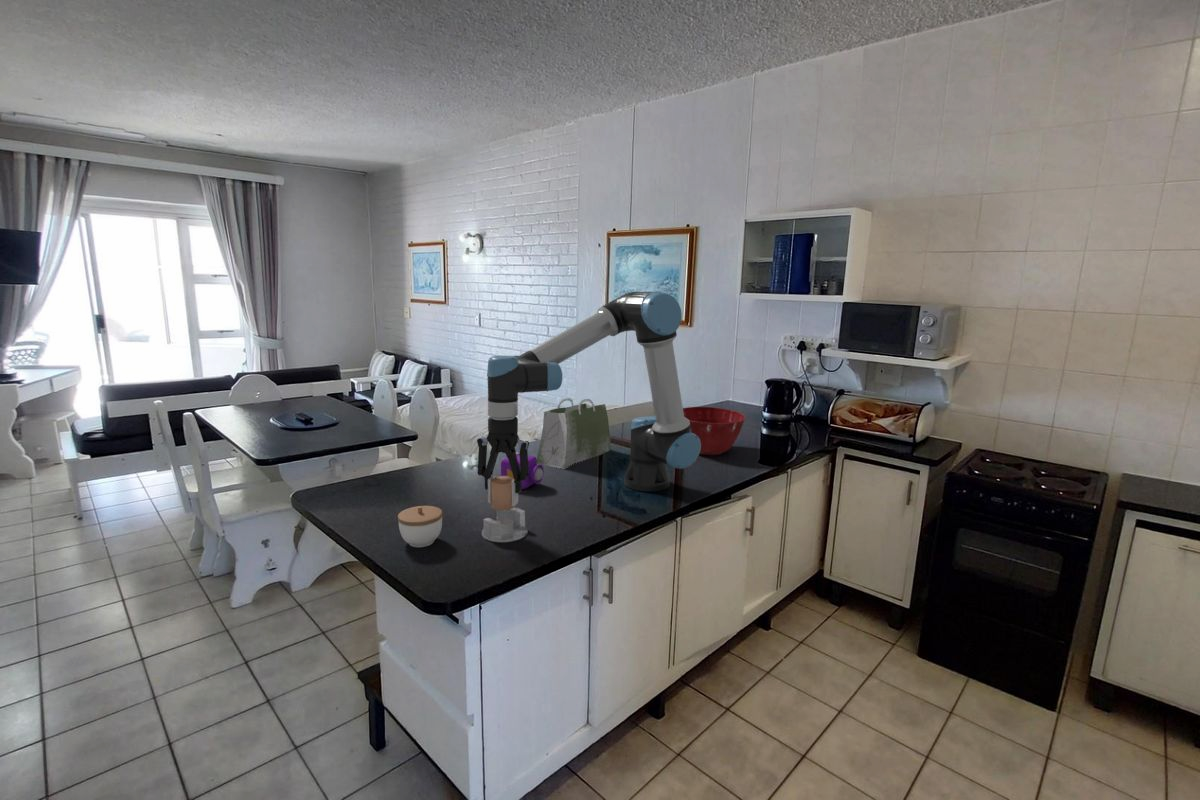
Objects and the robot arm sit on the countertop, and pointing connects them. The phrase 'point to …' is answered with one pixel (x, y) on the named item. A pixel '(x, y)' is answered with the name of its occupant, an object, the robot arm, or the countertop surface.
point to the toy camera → (534, 469)
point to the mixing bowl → (714, 427)
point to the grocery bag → (573, 434)
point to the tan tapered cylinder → (501, 493)
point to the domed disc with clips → (505, 526)
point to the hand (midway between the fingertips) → (503, 502)
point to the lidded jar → (420, 525)
